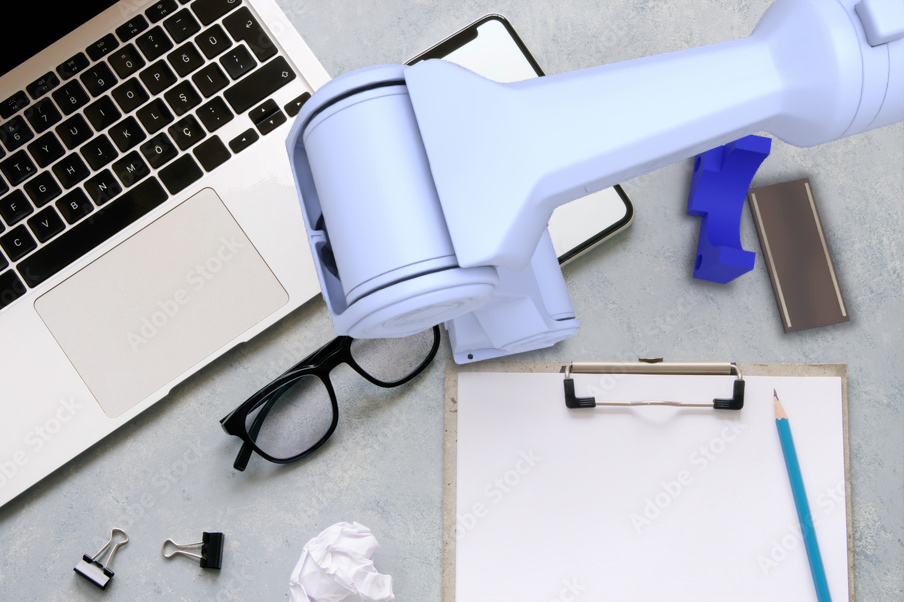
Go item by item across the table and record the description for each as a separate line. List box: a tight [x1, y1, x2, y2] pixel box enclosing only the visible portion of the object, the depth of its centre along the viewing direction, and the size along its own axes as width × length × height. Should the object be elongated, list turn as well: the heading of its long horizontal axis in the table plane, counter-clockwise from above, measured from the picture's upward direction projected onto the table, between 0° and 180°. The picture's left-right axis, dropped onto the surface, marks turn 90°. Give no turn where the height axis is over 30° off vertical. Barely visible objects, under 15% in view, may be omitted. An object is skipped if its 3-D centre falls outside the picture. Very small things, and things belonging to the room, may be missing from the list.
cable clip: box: [686, 134, 773, 285], centre depth 68 cm, size 12×4×6 cm, turn 168°
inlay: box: [746, 177, 851, 334], centre depth 70 cm, size 6×14×1 cm, turn 11°
